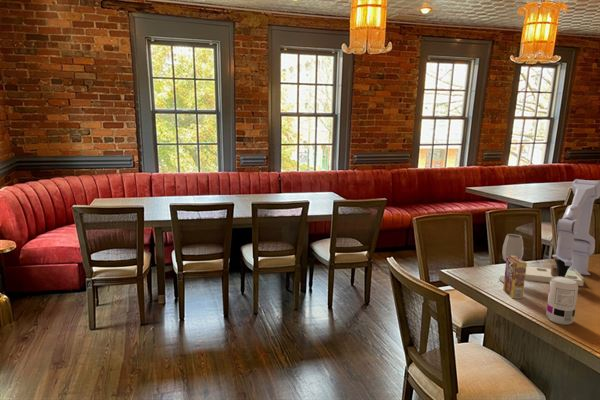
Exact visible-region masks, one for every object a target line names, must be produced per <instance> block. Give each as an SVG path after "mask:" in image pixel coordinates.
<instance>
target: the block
mask: <svg viewBox="0 0 600 400" xmlns="http://www.w3.org/2000/svg"><path fill="white" fill-rule="evenodd" d="M550 266H551V267H550V269H551V275H552V276H554V277H556V276H558V271H557V265H556V264H551V265H550Z"/></svg>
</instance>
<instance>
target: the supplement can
mask: <svg viewBox="0 0 600 400" xmlns="http://www.w3.org/2000/svg"><path fill="white" fill-rule="evenodd" d="M578 292H579V286H578V285H577V282H576V281H575V280H573V279H571V278H567V277H561V276H556V277H553V278H552V280H551V281H550V282H549V288H548V293H547V294H548V297H547V304H546V311H545V312H546V314H545V315H546V316H545V317H546V318H547V319H548V320H549V321H551V322H552V323H555V324H557V325H565V326H566V325H567V326H569V325H571V324H573V323H574V321H575V316H576V315H575V314H576V306H577V299H578Z"/></svg>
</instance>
